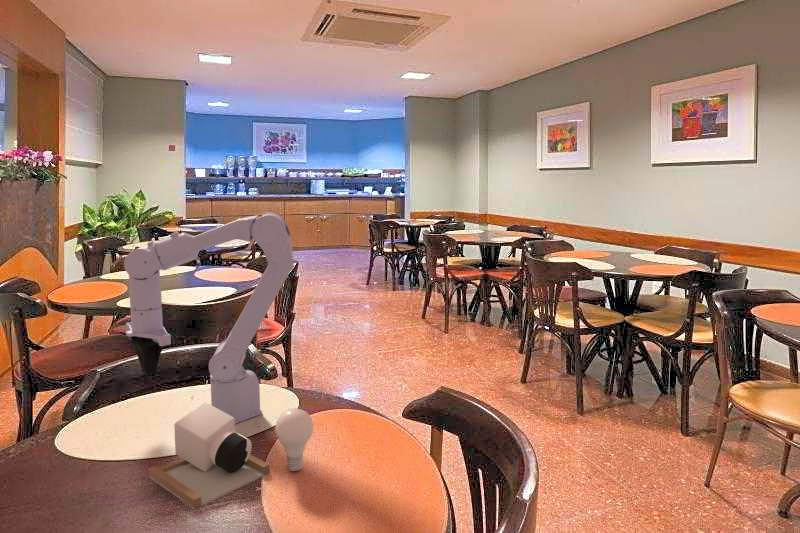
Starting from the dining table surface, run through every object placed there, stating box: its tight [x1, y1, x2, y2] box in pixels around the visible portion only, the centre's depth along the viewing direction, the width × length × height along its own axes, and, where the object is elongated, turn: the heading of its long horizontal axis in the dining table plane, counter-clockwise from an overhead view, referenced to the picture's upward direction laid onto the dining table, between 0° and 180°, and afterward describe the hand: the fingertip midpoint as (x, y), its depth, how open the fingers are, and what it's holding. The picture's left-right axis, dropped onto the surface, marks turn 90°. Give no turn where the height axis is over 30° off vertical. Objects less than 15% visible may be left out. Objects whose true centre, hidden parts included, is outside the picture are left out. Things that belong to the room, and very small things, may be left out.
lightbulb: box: [274, 407, 314, 472], centre depth 95 cm, size 6×6×11 cm
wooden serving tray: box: [148, 453, 271, 510], centre depth 94 cm, size 14×14×2 cm
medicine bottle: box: [173, 401, 252, 473], centre depth 96 cm, size 7×7×12 cm
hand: (149, 372), depth 113 cm, fingers closed
